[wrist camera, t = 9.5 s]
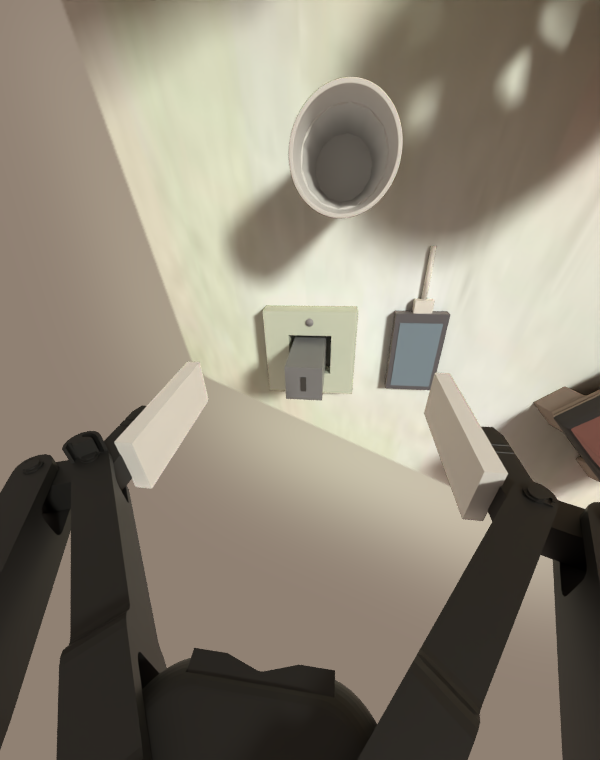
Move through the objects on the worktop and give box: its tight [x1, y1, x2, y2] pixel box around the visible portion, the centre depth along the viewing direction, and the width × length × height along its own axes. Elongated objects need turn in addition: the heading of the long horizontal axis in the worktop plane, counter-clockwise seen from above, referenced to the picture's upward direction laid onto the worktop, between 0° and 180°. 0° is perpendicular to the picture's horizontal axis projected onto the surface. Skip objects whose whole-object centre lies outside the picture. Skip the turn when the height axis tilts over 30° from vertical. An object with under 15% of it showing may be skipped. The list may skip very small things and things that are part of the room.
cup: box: [289, 77, 403, 218], centre depth 26 cm, size 8×8×12 cm
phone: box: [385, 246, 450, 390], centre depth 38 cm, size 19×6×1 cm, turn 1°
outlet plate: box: [263, 305, 358, 394], centre depth 41 cm, size 12×12×3 cm
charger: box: [284, 335, 327, 400], centre depth 38 cm, size 4×4×10 cm
